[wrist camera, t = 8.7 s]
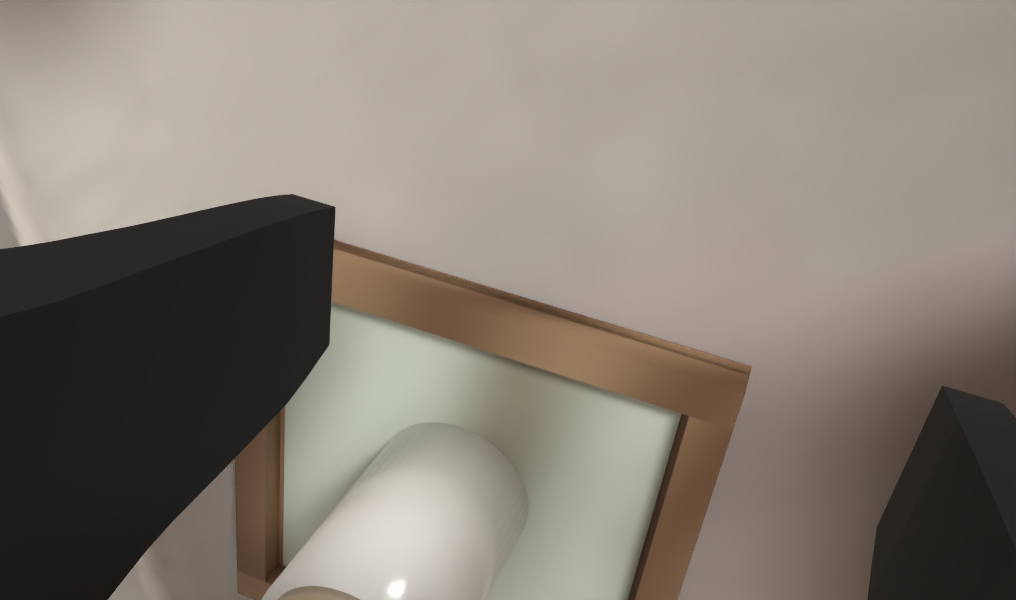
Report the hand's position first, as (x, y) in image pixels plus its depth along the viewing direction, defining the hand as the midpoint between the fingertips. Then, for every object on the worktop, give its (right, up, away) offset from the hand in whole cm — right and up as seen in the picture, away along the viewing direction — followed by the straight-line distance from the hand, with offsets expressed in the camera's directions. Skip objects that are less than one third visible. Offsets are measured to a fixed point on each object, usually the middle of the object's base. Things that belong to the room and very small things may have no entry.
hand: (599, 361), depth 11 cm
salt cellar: (-3, -5, +15) cm, 16 cm away
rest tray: (-2, -5, +15) cm, 16 cm away
